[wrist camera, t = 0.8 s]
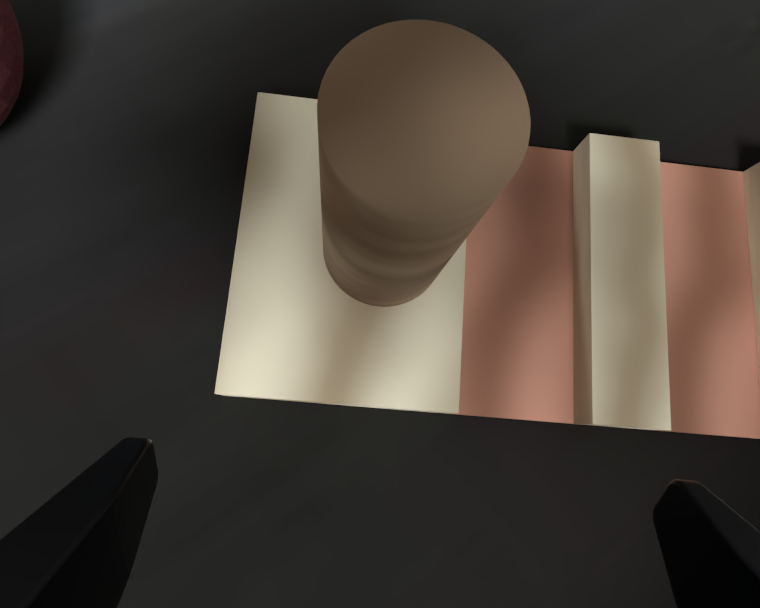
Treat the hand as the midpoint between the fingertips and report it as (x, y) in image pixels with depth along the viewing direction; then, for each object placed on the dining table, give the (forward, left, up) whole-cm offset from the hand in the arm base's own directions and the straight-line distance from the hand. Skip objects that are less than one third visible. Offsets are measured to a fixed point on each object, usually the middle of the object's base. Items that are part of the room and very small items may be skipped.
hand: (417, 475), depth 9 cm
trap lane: (-3, -13, -13) cm, 19 cm away
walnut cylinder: (+5, -6, -11) cm, 14 cm away
